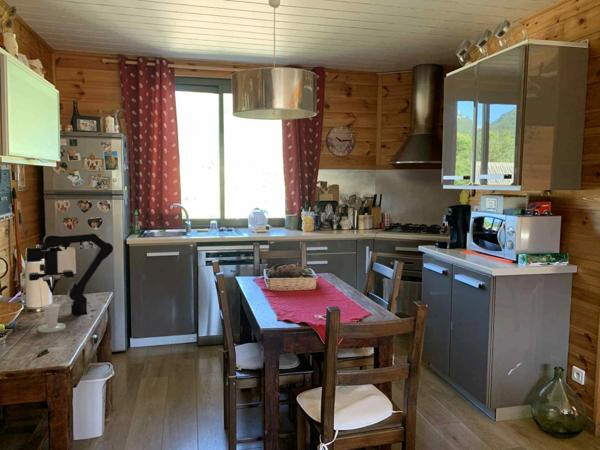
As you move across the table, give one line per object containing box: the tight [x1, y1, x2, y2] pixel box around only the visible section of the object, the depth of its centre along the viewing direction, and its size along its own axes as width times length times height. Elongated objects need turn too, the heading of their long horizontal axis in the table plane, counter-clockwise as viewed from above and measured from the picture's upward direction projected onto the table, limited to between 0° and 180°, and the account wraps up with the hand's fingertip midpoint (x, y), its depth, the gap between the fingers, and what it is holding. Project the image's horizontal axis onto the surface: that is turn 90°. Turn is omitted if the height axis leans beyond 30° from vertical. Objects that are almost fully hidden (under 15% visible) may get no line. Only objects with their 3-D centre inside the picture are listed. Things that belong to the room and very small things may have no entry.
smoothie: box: [43, 295, 60, 328], centre depth 209 cm, size 6×6×14 cm
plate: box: [37, 322, 67, 334], centre depth 210 cm, size 11×11×1 cm
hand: (51, 292), depth 226 cm, fingers closed
